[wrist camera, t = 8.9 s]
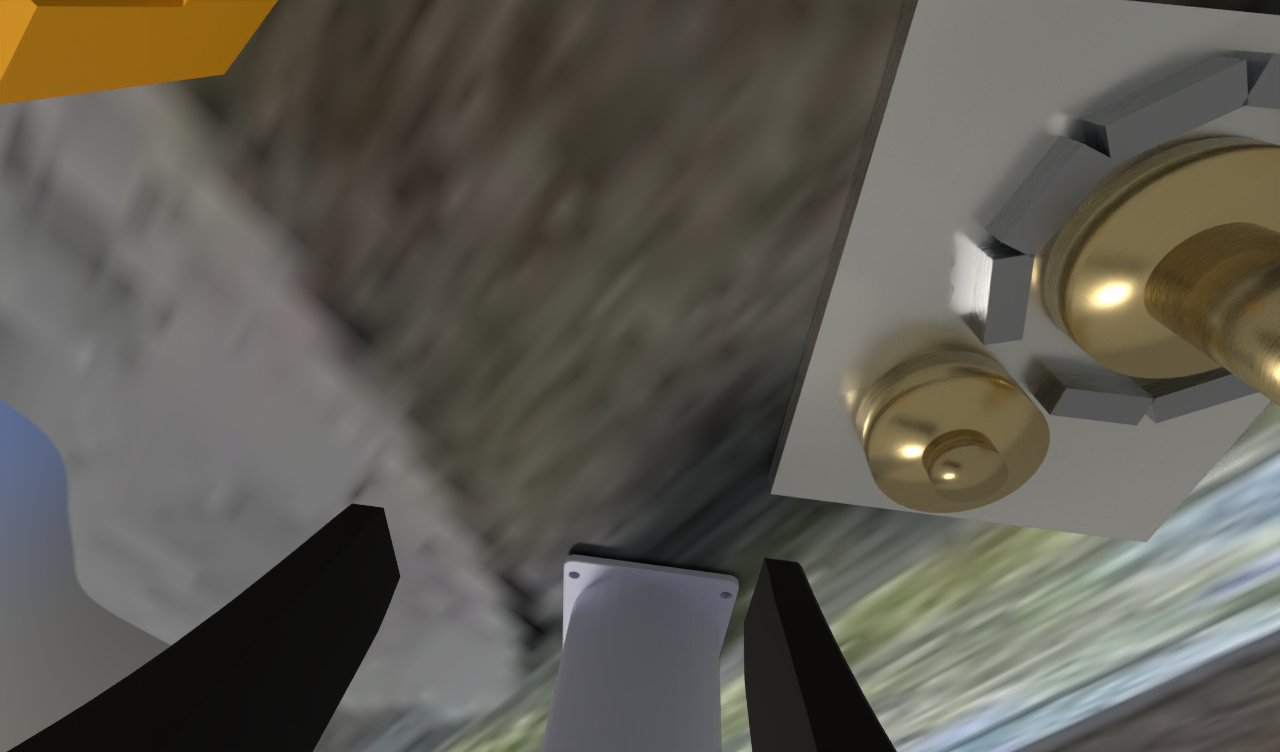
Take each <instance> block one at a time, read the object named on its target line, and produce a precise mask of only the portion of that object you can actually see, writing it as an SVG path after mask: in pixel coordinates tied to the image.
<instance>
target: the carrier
mask: <svg viewBox="0 0 1280 752" xmlns="http://www.w3.org/2000/svg"><path fill="white" fill-rule="evenodd" d="M1222 137H1239V138H1249V139H1254V140H1260V141H1264V142H1268V143H1273V144H1277V145H1280V15H1271V14H1261V13H1250V12H1240V11H1230V10H1220V9H1210V8H1199V7H1189V6H1179V5H1169V4H1159V3H1148V2H1138V1H1128V0H905V3H904V6H903V10H902V13H901V17H900V20H899V24H898V27H897V30H896V34H895V37H894V41H893V44H892V48H891V51H890V55H889V58H888V62H887V65H886V69H885V72H884V76H883V79H882V82H881V86H880V89H879V93H878V96H877V100H876V103H875V107H874V110H873V114H872V117H871V121H870V124H869V127H868V131H867V134H866V138H865V141H864V145H863V148H862V152H861V155H860V159H859V162H858V166H857V169H856V173H855V176H854V179H853V183H852V186H851V190H850V193H849V197H848V200H847V204H846V207H845V211H844V214H843V218H842V221H841V224H840V228H839V231H838V235H837V238H836V242H835V245H834V249H833V252H832V256H831V259H830V263H829V266H828V270H827V273H826V276H825V280H824V283H823V287H822V290H821V294H820V297H819V301H818V304H817V308H816V311H815V315H814V318H813V321H812V325H811V328H810V332H809V335H808V339H807V342H806V346H805V349H804V353H803V356H802V360H801V363H800V367H799V370H798V373H797V377H796V380H795V384H794V387H793V391H792V394H791V398H790V401H789V405H788V408H787V412H786V415H785V419H784V422H783V425H782V429H781V432H780V436H779V439H778V443H777V446H776V450H775V453H774V457H773V460H772V464H771V467H770V470H769V474H768V479H769V487H770V494H774V495H782V496H790V497H798V498H805V499H813V500H821V501H829V502H837V503H844V504H852V505H860V506H868V507H876V508H883V509H891V510H899V511H907V512H915V513H922V514H930V515H938V516H946V517H954V518H961V519H969V520H977V521H985V522H993V523H1001V524H1008V525H1016V526H1024V527H1032V528H1040V529H1047V530H1055V531H1063V532H1071V533H1079V534H1086V535H1094V536H1102V537H1110V538H1118V539H1125V540H1133V541H1141V542H1147V541H1148V540H1149V539H1150V537H1151V536H1152V535H1153V534H1154V533H1155V532H1156V531H1157V530H1158V528H1159V527H1160V526H1161V525H1162V524H1163V523H1164V522H1165V520H1166V519H1167V518H1168V517H1169V516H1170V515H1171V514H1172V513H1173V511H1174V510H1175V509H1176V508H1177V507H1178V506H1179V505H1180V504H1181V502H1182V501H1183V500H1184V499H1185V498H1186V497H1187V496H1188V494H1189V493H1190V492H1191V491H1192V490H1193V489H1194V488H1195V487H1196V485H1197V484H1198V483H1199V482H1200V481H1201V480H1202V479H1203V477H1204V476H1205V475H1206V474H1207V473H1208V472H1209V471H1210V470H1211V468H1212V467H1213V466H1214V465H1215V464H1216V463H1217V462H1218V460H1219V459H1220V458H1221V457H1222V456H1223V455H1224V454H1225V453H1226V451H1227V450H1228V449H1229V448H1230V447H1231V446H1232V445H1233V443H1234V442H1235V441H1236V440H1237V439H1238V438H1239V437H1240V436H1241V434H1242V433H1243V432H1244V431H1245V430H1246V429H1247V428H1248V426H1249V425H1250V424H1251V423H1252V422H1253V421H1254V420H1255V419H1256V417H1257V416H1258V415H1259V414H1260V413H1261V412H1262V411H1263V410H1264V408H1265V407H1266V406H1267V405H1268V404H1269V403H1270V402H1271V400H1270V399H1269V398H1267V397H1266V396H1264V395H1263V394H1261V393H1260V392H1258V391H1257V390H1256V389H1254V388H1253V387H1251V386H1250V385H1248V384H1247V383H1245V382H1244V381H1243V380H1241V379H1240V378H1238V377H1237V376H1235V375H1234V374H1232V373H1231V372H1229V371H1228V370H1227V369H1225V368H1224V367H1220V368H1217V369H1213V370H1210V371H1206V372H1203V373H1198V374H1193V375H1189V376H1182V377H1174V378H1156V379H1153V378H1139V377H1134V376H1128V375H1124V374H1121V373H1118V372H1115V371H1112V370H1110V369H1108V368H1106V367H1104V366H1102V365H1100V364H1099V363H1098V362H1096V361H1095V360H1094V359H1092V358H1091V357H1090V356H1089V355H1088V354H1087V353H1085V352H1084V351H1083V350H1082V349H1081V348H1080V347H1079V346H1078V345H1077V344H1076V343H1074V342H1073V341H1072V340H1071V339H1070V338H1069V337H1068V336H1067V335H1066V334H1064V333H1063V332H1062V331H1061V330H1060V328H1059V327H1058V326H1057V325H1056V324H1055V323H1054V321H1053V319H1052V318H1051V316H1050V314H1049V312H1048V309H1047V306H1046V302H1045V297H1044V279H1045V272H1046V268H1047V264H1048V261H1049V258H1050V255H1051V253H1052V251H1053V248H1054V246H1055V244H1056V242H1057V240H1058V239H1059V237H1060V235H1061V234H1062V232H1063V230H1064V229H1065V227H1066V226H1067V225H1068V223H1069V222H1070V221H1071V219H1072V218H1073V217H1074V215H1075V214H1076V213H1077V212H1078V211H1079V210H1080V209H1081V208H1082V206H1083V205H1084V204H1085V203H1086V202H1087V201H1088V200H1089V199H1090V198H1091V197H1092V196H1094V195H1095V194H1096V193H1097V192H1098V191H1099V190H1100V189H1101V188H1102V187H1104V186H1105V185H1106V184H1108V183H1109V182H1110V181H1112V180H1113V179H1114V178H1116V177H1117V176H1118V175H1120V174H1122V173H1123V172H1125V171H1126V170H1128V169H1129V168H1131V167H1133V166H1134V165H1136V164H1138V163H1140V162H1142V161H1144V160H1146V159H1148V158H1149V157H1151V156H1154V155H1156V154H1158V153H1161V152H1163V151H1166V150H1168V149H1171V148H1174V147H1177V146H1180V145H1183V144H1187V143H1190V142H1195V141H1200V140H1205V139H1210V138H1222Z"/></svg>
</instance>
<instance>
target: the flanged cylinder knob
mask: <svg viewBox="0 0 1280 752" xmlns="http://www.w3.org/2000/svg"><path fill="white" fill-rule="evenodd" d="M1044 297H1045V302H1046V306H1047V309H1048V312H1049V314H1050V316H1051V318H1052V319H1053V321H1054V323H1055V324H1056V325H1057V326H1058V327H1059V328H1060V330H1061V331H1062V332H1063V333H1064V334H1066V335H1067V336H1068V337H1069V338H1070V339H1071V340H1072V341H1073V342H1074V343H1076V344H1077V345H1078V346H1079V347H1080V348H1081V349H1082V350H1083V351H1084V352H1085V353H1087V354H1088V355H1089V356H1090V357H1091V358H1092V359H1094V360H1095V361H1096V362H1098V363H1099V364H1100V365H1102V366H1104V367H1106V368H1108V369H1110V370H1112V371H1115V372H1118V373H1121V374H1124V375H1128V376H1134V377H1139V378H1153V379H1156V378H1174V377H1182V376H1189V375H1193V374H1198V373H1203V372H1206V371H1210V370H1213V369H1217V368H1220V367H1224V368H1225V369H1227V370H1228V371H1229V372H1231V373H1232V374H1234V375H1235V376H1237V377H1238V378H1240V379H1241V380H1243V381H1244V382H1245V383H1247V384H1248V385H1250V386H1251V387H1253V388H1254V389H1256V390H1257V391H1258V392H1260V393H1261V394H1263V395H1264V396H1266V397H1267V398H1269V399H1270V400H1271V401H1273V402H1274V403H1276V404H1277V405H1279V406H1280V145H1277V144H1273V143H1268V142H1264V141H1260V140H1254V139H1249V138H1239V137H1222V138H1210V139H1205V140H1200V141H1195V142H1190V143H1187V144H1183V145H1180V146H1177V147H1174V148H1171V149H1168V150H1166V151H1163V152H1161V153H1158V154H1156V155H1154V156H1151V157H1149V158H1148V159H1146V160H1144V161H1142V162H1140V163H1138V164H1136V165H1134V166H1133V167H1131V168H1129V169H1128V170H1126V171H1125V172H1123V173H1122V174H1120V175H1118V176H1117V177H1116V178H1114V179H1113V180H1112V181H1110V182H1109V183H1108V184H1106V185H1105V186H1104V187H1102V188H1101V189H1100V190H1099V191H1098V192H1097V193H1096V194H1095V195H1094V196H1092V197H1091V198H1090V199H1089V200H1088V201H1087V202H1086V203H1085V204H1084V205H1083V206H1082V208H1081V209H1080V210H1079V211H1078V212H1077V213H1076V214H1075V215H1074V217H1073V218H1072V219H1071V221H1070V222H1069V223H1068V225H1067V226H1066V227H1065V229H1064V230H1063V232H1062V234H1061V235H1060V237H1059V239H1058V240H1057V242H1056V244H1055V246H1054V248H1053V251H1052V253H1051V255H1050V258H1049V261H1048V264H1047V268H1046V272H1045V279H1044Z"/></svg>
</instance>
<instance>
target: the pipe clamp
mask: <svg viewBox="0 0 1280 752" xmlns="http://www.w3.org/2000/svg"><path fill="white" fill-rule="evenodd" d="M276 2H277V0H0V104H7V103H14V102H22V101H29V100H37V99H44V98H52V97H59V96H66V95H74V94H81V93H89V92H96V91H104V90H111V89H118V88H126V87H133V86H141V85H148V84H155V83H163V82H170V81H178V80H185V79H193V78H200V77H207V76H215V75H222V74H225V73H226V71H227V70H228V68H229V67H230V66H231V64H232V63H233V61H234V60H235V59H236V57H237V56H238V55H239V53H240V52H241V50H242V49H243V48H244V46H245V45H246V43H247V42H248V41H249V39H250V38H251V36H252V35H253V34H254V32H255V31H256V30H257V28H258V27H259V25H260V24H261V23H262V21H263V20H264V18H265V17H266V16H267V14H268V13H269V12H270V10H271V9H272V7H273V6H274V5H275V3H276Z"/></svg>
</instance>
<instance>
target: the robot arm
mask: <svg viewBox="0 0 1280 752" xmlns="http://www.w3.org/2000/svg"><path fill="white" fill-rule="evenodd" d="M399 578H400V573H399V569H398V565H397V561H396V557H395V553H394V549H393V545H392V541H391V536H390V532H389V528H388V524H387V520H386V516H385V512H384V508H381V507H374V506H366V505H359V504H351V505H350V506H348V507H347V508H346V509H345V510H343V511H342V512H341V513H340V514H338V515H337V516H336V517H335V518H333V519H332V520H331V521H330V522H329V523H327V524H326V525H325V526H324V527H322V528H321V529H320V530H319V531H318V532H316V533H315V534H314V535H313V536H312V537H310V538H309V539H308V540H307V541H306V542H304V543H303V544H302V545H301V546H299V547H298V548H297V549H296V550H295V551H293V552H292V553H291V554H290V555H288V556H287V557H286V558H285V559H284V560H282V561H281V562H280V563H279V564H277V565H276V566H275V567H274V568H272V569H271V570H270V571H269V572H267V573H266V574H265V575H264V576H262V577H261V578H260V579H259V580H257V581H256V582H255V583H254V584H252V585H251V586H250V587H249V588H247V589H246V590H245V591H243V592H242V593H241V594H240V595H238V596H237V597H236V598H235V599H233V600H232V601H231V602H229V603H228V604H227V605H226V606H224V607H223V608H222V609H220V610H219V611H218V612H216V613H215V614H214V615H212V616H211V617H209V618H208V619H207V620H205V621H204V622H203V623H201V624H200V625H199V626H197V627H196V628H195V629H193V630H192V631H191V632H189V633H188V634H187V635H185V636H184V637H182V638H181V639H180V640H178V641H177V642H176V643H174V644H173V645H172V646H170V647H169V648H167V649H166V650H165V651H163V652H162V653H160V654H159V655H157V656H156V657H155V658H153V659H152V660H150V661H149V662H147V663H146V664H145V665H143V666H142V667H140V668H139V669H137V670H136V671H134V672H133V673H132V674H130V675H129V676H127V677H125V678H124V679H122V680H121V681H119V682H118V683H116V684H115V685H113V686H112V687H110V688H109V689H107V690H106V691H104V692H103V693H101V694H100V695H98V696H97V697H95V698H94V699H92V700H91V701H89V702H88V703H86V704H84V705H83V706H81V707H80V708H78V709H76V710H75V711H73V712H72V713H70V714H68V715H67V716H65V717H63V718H62V719H60V720H59V721H57V722H56V723H54V724H52V725H51V726H49V727H47V728H46V729H44V730H42V731H41V732H39V733H37V734H36V735H34V736H32V737H31V738H29V739H27V740H26V741H24V742H22V743H21V744H19V745H17V746H16V747H14V748H12V749H11V750H9V751H7V752H313V750H314V749H315V747H316V745H317V743H318V741H319V739H320V738H321V736H322V734H323V732H324V730H325V728H326V727H327V725H328V723H329V721H330V719H331V717H332V716H333V714H334V712H335V710H336V708H337V706H338V705H339V703H340V701H341V699H342V697H343V695H344V694H345V692H346V690H347V688H348V686H349V684H350V683H351V681H352V679H353V677H354V675H355V673H356V672H357V670H358V668H359V666H360V664H361V662H362V660H363V659H364V657H365V655H366V653H367V651H368V649H369V647H370V646H371V644H372V642H373V640H374V638H375V636H376V634H377V632H378V630H379V628H380V626H381V623H382V621H383V619H384V616H385V614H386V611H387V609H388V607H389V604H390V602H391V599H392V596H393V594H394V591H395V589H396V586H397V584H398V581H399ZM738 590H739V582H738V579H737V578H736V577H734V576H731V575H726V574H719V573H711V572H703V571H696V570H688V569H681V568H673V567H666V566H658V565H651V564H643V563H636V562H628V561H621V560H613V559H606V558H598V557H591V556H583V555H569V556H568V557H566V559H565V563H564V593H563V652H562V657H561V661H560V666H559V671H558V675H557V680H556V684H555V689H554V693H553V698H552V703H551V707H550V712H549V716H548V721H547V726H546V730H545V735H544V739H543V744H542V748H541V752H722V744H721V705H720V665H719V655H720V652H721V648H722V645H723V641H724V638H725V635H726V631H727V628H728V624H729V621H730V618H731V614H732V611H733V607H734V604H735V601H736V597H737V594H738ZM744 675H745V689H746V699H747V708H748V717H749V726H750V735H751V744H752V752H897V751H896V750H895V748H894V746H893V745H892V743H891V741H890V740H889V738H888V736H887V734H886V733H885V731H884V729H883V728H882V726H881V724H880V723H879V721H878V719H877V717H876V716H875V714H874V712H873V710H872V708H871V707H870V705H869V703H868V701H867V699H866V698H865V696H864V694H863V692H862V690H861V688H860V686H859V685H858V683H857V681H856V679H855V677H854V675H853V673H852V671H851V669H850V668H849V666H848V664H847V662H846V660H845V658H844V656H843V654H842V652H841V650H840V648H839V646H838V644H837V642H836V640H835V638H834V636H833V634H832V632H831V630H830V628H829V626H828V624H827V622H826V620H825V618H824V616H823V613H822V611H821V609H820V607H819V605H818V603H817V600H816V598H815V596H814V594H813V591H812V589H811V587H810V585H809V582H808V580H807V578H806V575H805V573H804V570H803V568H802V567H801V565H800V564H799V563H798V562H791V561H784V560H776V559H768V558H765V559H764V562H763V565H762V568H761V572H760V575H759V578H758V581H757V584H756V587H755V590H754V593H753V597H752V600H751V603H750V606H749V609H748V612H747V615H746V618H745V622H744Z"/></svg>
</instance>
